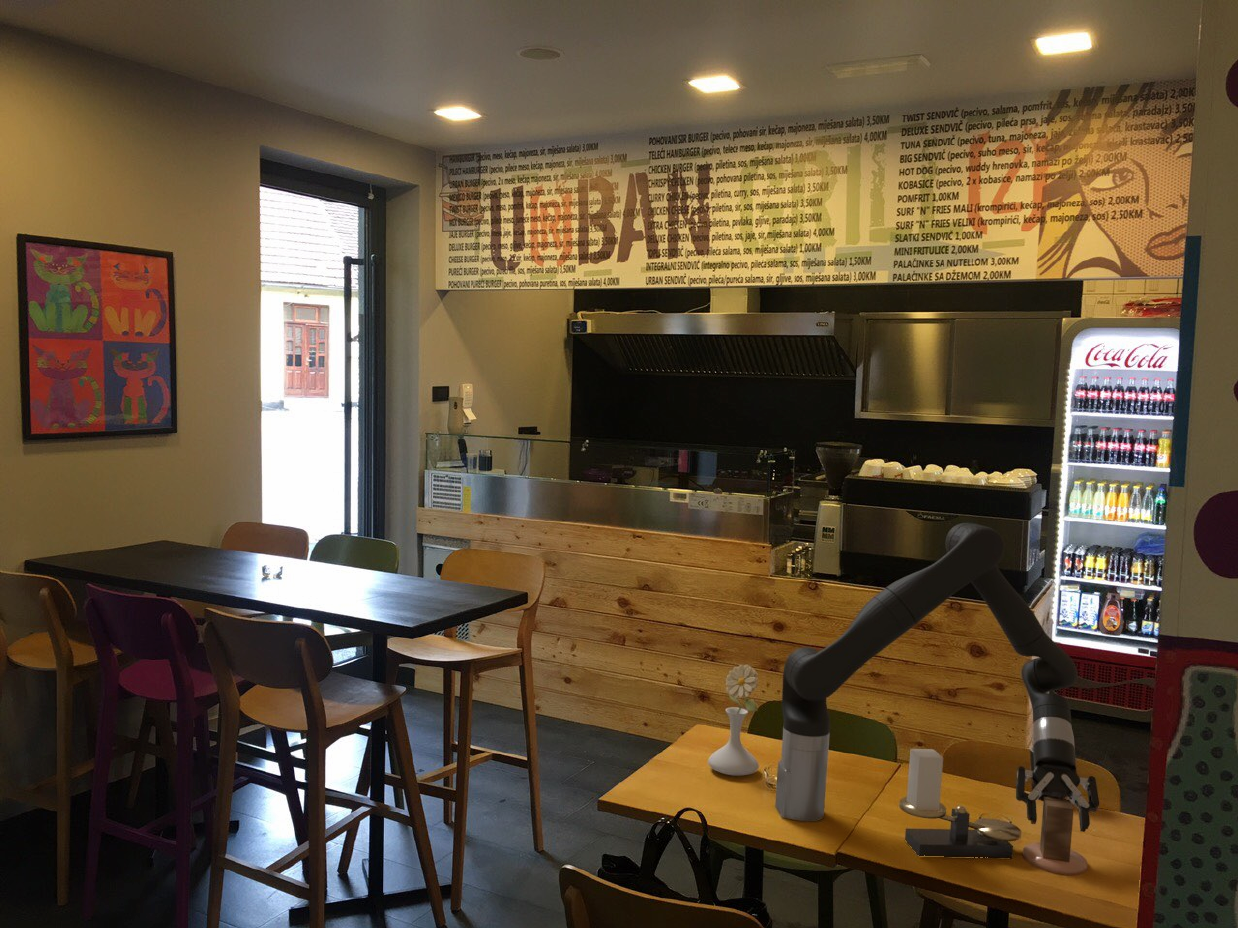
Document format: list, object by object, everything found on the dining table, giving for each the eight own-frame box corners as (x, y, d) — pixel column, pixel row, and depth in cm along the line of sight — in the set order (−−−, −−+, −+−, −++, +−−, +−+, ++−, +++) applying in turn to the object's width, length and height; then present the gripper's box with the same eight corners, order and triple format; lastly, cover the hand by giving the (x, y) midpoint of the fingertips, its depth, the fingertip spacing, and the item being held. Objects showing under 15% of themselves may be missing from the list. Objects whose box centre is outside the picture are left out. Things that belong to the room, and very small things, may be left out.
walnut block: (1043, 858, 186) (1047, 805, 185) (1039, 848, 190) (1044, 796, 189) (1069, 862, 184) (1073, 809, 184) (1065, 852, 189) (1069, 800, 188)
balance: (906, 858, 184) (909, 813, 184) (889, 839, 193) (893, 795, 192) (1027, 860, 186) (1031, 816, 186) (1006, 841, 195) (1009, 798, 194)
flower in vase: (698, 764, 228) (705, 656, 226) (741, 759, 232) (747, 653, 231) (728, 785, 216) (735, 671, 214) (772, 780, 221) (780, 668, 219)
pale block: (915, 809, 186) (919, 756, 185) (906, 800, 190) (910, 748, 190) (939, 810, 186) (943, 757, 186) (929, 800, 191) (933, 749, 190)
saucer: (1041, 874, 181) (1041, 868, 181) (1012, 847, 192) (1012, 842, 192) (1099, 874, 182) (1099, 869, 182) (1066, 848, 193) (1067, 843, 193)
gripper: (1017, 731, 195) (1020, 811, 184) (1097, 742, 191) (1104, 823, 181) (1012, 750, 200) (1014, 828, 190) (1089, 760, 197) (1096, 840, 186)
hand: (1058, 826), depth 185 cm, fingers open, 8 cm apart
